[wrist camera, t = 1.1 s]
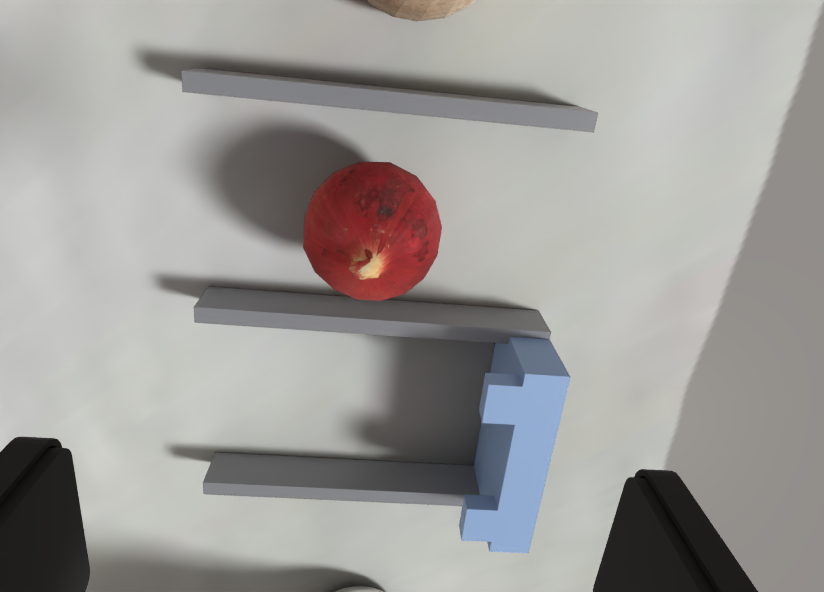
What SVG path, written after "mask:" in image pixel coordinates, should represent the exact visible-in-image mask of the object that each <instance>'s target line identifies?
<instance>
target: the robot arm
mask: <svg viewBox="0 0 824 592" xmlns="http://www.w3.org/2000/svg"><path fill="white" fill-rule="evenodd" d="M89 575H90V567H89V560H88V554H87V548H86V541H85V535H84V529H83V522H82V516H81V510H80V503H79V497H78V491H77V484H76V478H75V472H74V465H73V459H72V454H71V451H70V450H69V449H67V448H62V446H61V443H60V442H59V440H57V439H54V438H36V437H17V438H14V439H13V440H12V441H11V442H10V443H9V444H8V445H7V446H6V447H5V448H4V449H3V450H2V451H1V452H0V592H85V590H86V588H87V585H88V581H89ZM593 592H758V591H757V590H756V588H755V587H754V585H753V584H752V582H751V581H750V579H749V578H748V576H747V575H746V573H745V572H744V571H743V569H742V568H741V566H740V565H739V563H738V562H737V560H736V559H735V557H734V556H733V555H732V553H731V552H730V550H729V549H728V547H727V546H726V544H725V543H724V541H723V540H722V538H721V537H720V535H719V534H718V533H717V531H716V530H715V528H714V527H713V525H712V524H711V523H710V521H709V519H708V518H707V516H706V515H705V513H704V512H703V511H702V509H701V507H700V506H699V505H698V503H697V502H696V500H695V499H694V498H693V496H692V494H691V493H690V491H689V490H688V489H687V487H686V486H685V484H684V483H683V481H682V480H681V478H680V477H679V476H678V475H677V473H675V472H673V471H665V470H646V469H642V470H639V471H638V472H637V473H636V474H635V477H630V478H628V479H627V480H626V482H625V485H624V488H623V492H622V495H621V498H620V501H619V505H618V508H617V511H616V515H615V518H614V521H613V524H612V528H611V531H610V534H609V538H608V541H607V544H606V548H605V551H604V554H603V557H602V561H601V564H600V567H599V571H598V574H597V577H596V580H595V584H594V588H593Z"/></svg>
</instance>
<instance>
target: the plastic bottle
mask: <svg viewBox="0 0 824 592" xmlns="http://www.w3.org/2000/svg"><path fill="white" fill-rule="evenodd" d="M335 592H383V591H381V590H378V589H375V588H371V587H364V586H354V587H347V588H342V589H340V590H337V591H335Z"/></svg>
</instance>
